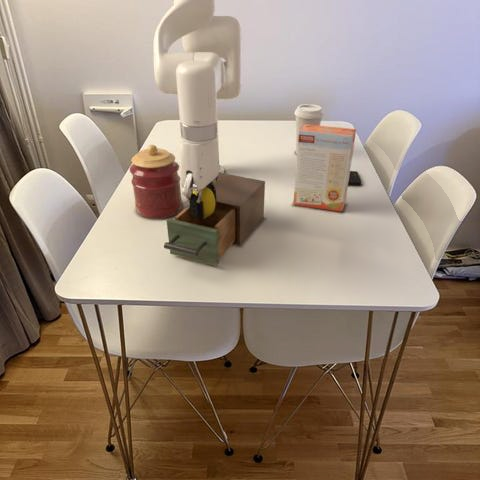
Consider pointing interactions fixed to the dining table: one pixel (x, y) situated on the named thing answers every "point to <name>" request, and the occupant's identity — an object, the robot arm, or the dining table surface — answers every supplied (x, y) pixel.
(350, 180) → the cell phone
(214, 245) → the drawer
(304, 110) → the coffee cup
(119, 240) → the dining table surface
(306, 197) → the cracker box
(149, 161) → the kitchen canister
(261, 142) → the dining table surface
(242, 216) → the cabinet
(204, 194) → the lemon
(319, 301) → the dining table surface
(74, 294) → the dining table surface
